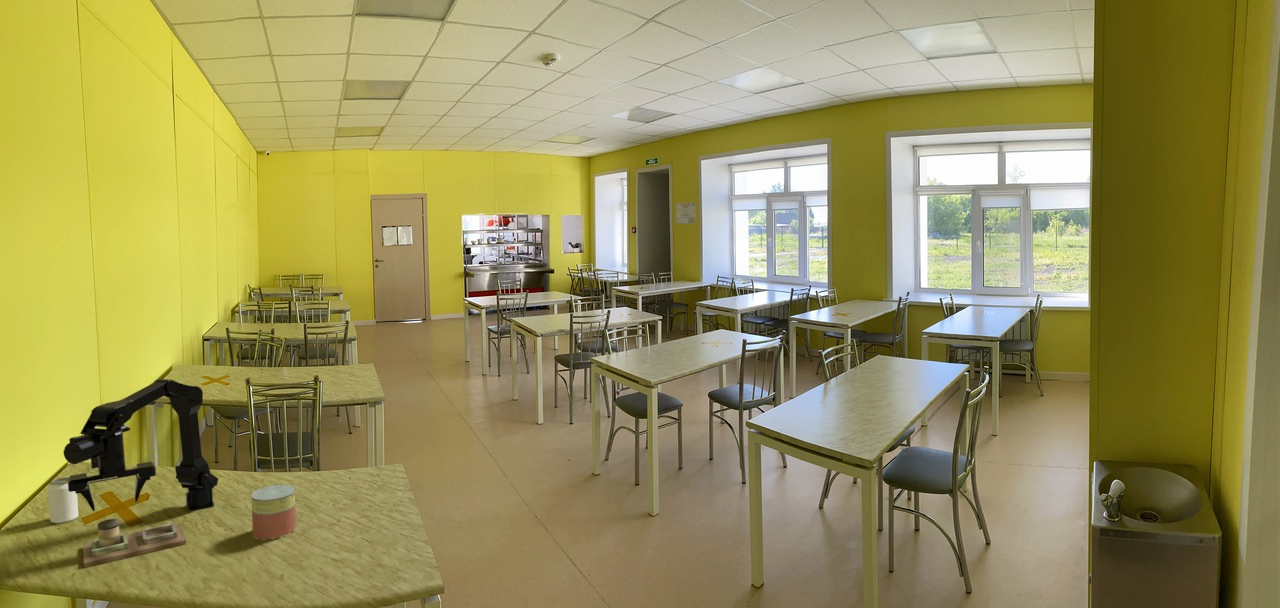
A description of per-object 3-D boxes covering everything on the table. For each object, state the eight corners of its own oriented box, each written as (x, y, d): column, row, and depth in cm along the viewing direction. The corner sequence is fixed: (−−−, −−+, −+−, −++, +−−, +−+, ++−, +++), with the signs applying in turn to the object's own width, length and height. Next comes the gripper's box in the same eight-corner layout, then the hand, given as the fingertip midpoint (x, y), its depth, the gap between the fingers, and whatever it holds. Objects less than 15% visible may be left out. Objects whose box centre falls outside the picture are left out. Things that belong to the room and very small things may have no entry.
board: (179, 526, 198) (179, 517, 198) (186, 543, 188) (185, 534, 187) (83, 547, 184) (82, 538, 184) (84, 567, 173) (83, 557, 173)
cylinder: (119, 541, 185) (118, 517, 184) (121, 547, 182) (119, 523, 181) (99, 546, 182) (97, 521, 182) (99, 552, 179) (97, 527, 178)
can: (62, 525, 197) (59, 485, 196) (44, 522, 198) (41, 483, 197) (84, 516, 203) (81, 478, 202) (67, 513, 205) (64, 476, 204)
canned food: (304, 528, 199) (303, 489, 198) (269, 543, 189) (268, 502, 188) (279, 520, 204) (277, 482, 203) (243, 535, 194) (242, 495, 193)
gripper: (150, 437, 194) (153, 488, 196) (65, 450, 182) (70, 504, 184) (154, 447, 186) (157, 500, 188) (66, 461, 174) (71, 519, 176)
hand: (115, 505), depth 184 cm, fingers open, 9 cm apart
